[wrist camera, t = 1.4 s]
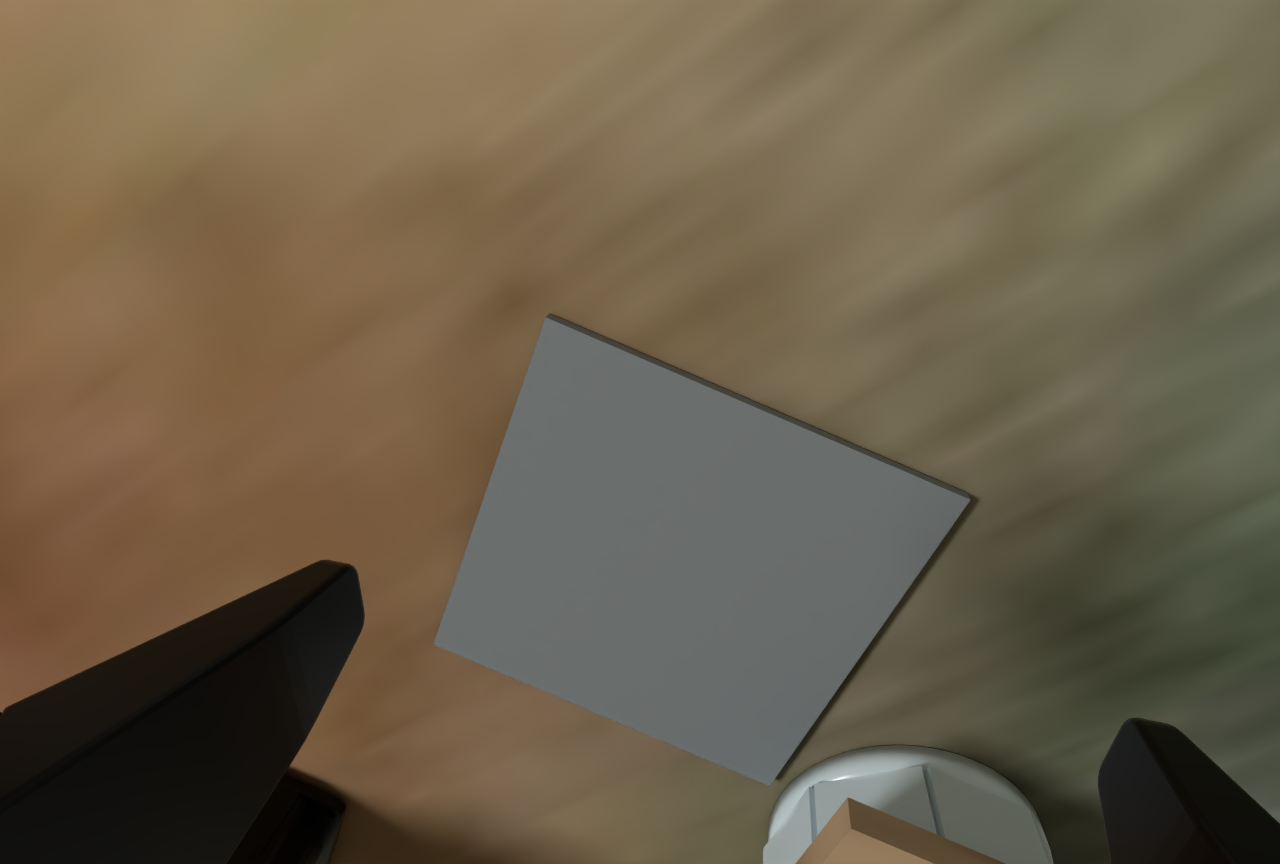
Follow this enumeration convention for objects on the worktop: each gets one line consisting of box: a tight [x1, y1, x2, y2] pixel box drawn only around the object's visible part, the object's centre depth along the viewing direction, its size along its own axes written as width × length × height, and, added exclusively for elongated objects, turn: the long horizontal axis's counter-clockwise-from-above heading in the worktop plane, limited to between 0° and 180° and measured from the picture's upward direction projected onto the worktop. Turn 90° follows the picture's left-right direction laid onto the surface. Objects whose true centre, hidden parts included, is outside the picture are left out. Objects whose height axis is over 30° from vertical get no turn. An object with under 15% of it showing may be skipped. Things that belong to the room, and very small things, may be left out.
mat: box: [433, 314, 970, 786], centre depth 24 cm, size 13×13×1 cm
